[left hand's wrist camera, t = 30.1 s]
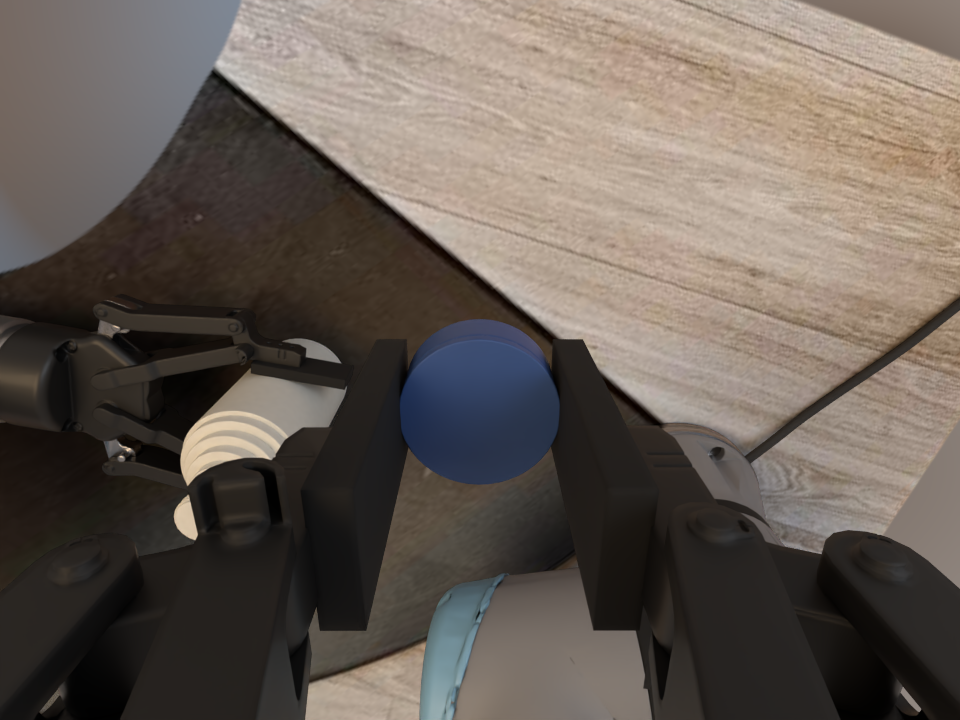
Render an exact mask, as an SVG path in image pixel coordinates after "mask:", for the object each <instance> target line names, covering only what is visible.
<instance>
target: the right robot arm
mask: <svg viewBox="0 0 960 720" xmlns="http://www.w3.org/2000/svg"><path fill="white" fill-rule="evenodd" d="M93 313H94V315H95V316H96V318H98V319H99V320H100V322H99V327H98V331H96V332H91V331H88V330H85V329H79V328H74V327H68V326H62V325H57V324H51V323H45V322H33V321H30V320H27V319H22V318H16V317H10V316H4V315H0V423H4V422H7V423H9V424H12V425H17V426H23V427H29V428H36V429H42V430H48V431H54V432H74V431H80V432H85V433H87V434H89V435H91V436H93V437H94V438H96V439H98V440H101V441H104V444H105V447H106V451H107V454H108V458H109V459H108V460H107V461H106V462H104V463H103V465H102V470H103V472H105V473H106V474H108V475H111V476H123V475H135V476H138V477H142V478H145V479H149V480H153V481H156V482H160V483H163V484H167V485H171V486H174V487H178V488H181V489H185V490H187V484H186V481H185V479H184V477H183V474H182V470H181V462H180V460H181V452H182V449H183V443H184V440H185V438H186V435H187V433H188V432H189V430H190V429H191V428H192V427H193V426H194V425H195V424H194V423H192V422H190V421H188V420H186V419H184V418H183V417H181V416H179V415H178V411H177V410H176V409H174V408H172V407H170V406H168V405H166V404H164V396H163V393H162V389H161V388H162V384H163V381H164V376H169V375H174V374H180V373H185V372H191V371H196V370H202V369H207V368H213V367H218V366H223V365H229V364H234V363H240V362H242V363H241V365H244V364H245V363H246V362H247V361H248V360H254V361H253V362H252V363H251V374H257V375H262V376H268V377H274V378H279V379H285V380H291V381H296V382H302V383H308V384H313V385H319V386H325V387H331V388H336V389H342V390H345V388H346V386H347V384H348V382H349V381H350V379H351V377H352V375H353V368H354V366H353V365H347V364H342V363H336V362H331V361H325V360H320V359H314V358H308V357H306V349H307V348H305V347H303V346H301V345H299V344H294V343H288V342H283V341H277V340H272V339H267V338H264V337H262V336H261V335H260V334H259V333H258V331H257V329H256V326H255V320H256V316H255V313H254V312H253V311H252V310H250V309H245V308H225V307H204V306H184V305H164V304H148V303H145V302H143V301H140V300H137V299H135V298H132V297H129V296H127V295H123V294H120V295H117V296H114V297H112V298H110V299H108V300H105V301H103V302H100V303H98V304H96V305H95V306H94V307H93ZM131 330H134V331H148V332H168V333H189V334H210V335H230V336H232V338H228V339H223V340H217V341H212V342H207V343H201V344H196V345H190V346H185V347H180V348H174V349H172V348H165V349H160V350H154V351H149V352H143V351H142V350H141V349H140V348H138V347H137V346H136V345H135V344H133V343H132V342H131V341H130V340H128V339H127V338H126V337H125V336H123V335H122V334H121V333H127V332H129V331H131ZM155 418H156V419H157V420H155V421H154V422H153V423H151V424H149V423H150V422H151V421H152V420H153V419H155ZM126 434H128V435H130V436H132V437H134V438H136V439H138V440H136V441H131V440H128V439H127V438H126V437H125V436H124V435H126ZM142 442H144V443H148V444H151V443H157V444H159V445H161V446H163V447H165V448H167V449H169V450H167V449H163V448H160V447H155V446H149V445H143V443H142ZM170 450H171V451H170Z"/></svg>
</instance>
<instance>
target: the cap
mask: <svg viewBox="0 0 960 720" xmlns="http://www.w3.org/2000/svg"><path fill="white" fill-rule="evenodd" d="M559 410H560V400H559V395H558V392H557V388H556V385H555V382H554V379H553V375H552V372H551V369H550V366H549V363H548V361H547V359H546V357H545V355H544V353H543V352H542V350H541V349H540V347H539V346H538V345H537V344H536V343H535V342H534V341H533V340H532V339H531V338H530V337H529V336H527V335H526V334H525V333H523V332H522V331H520V330H519V329H517V328H514V327H512V326H510V325H508V324H505V323H502V322H498V321H493V320H484V319H477V320H467V321H461V322H458V323H454V324H451V325H449V326H447V327H445V328H442V329H441V330H439V331H438V332H436V333H434V334H433V335H432V336H431V337H429V338H428V339H427V340H426V341H425V342H424V343H423V344H422V345H421V346H420V348H419V349H418V351H417V352H416V353H415V355H414V357H413V359H412V361H411V363H410V366H409V369H408V372H407V376H406V379H405V382H404V385H403V388H402V392H401V395H400V416H401V431H402V434H403V437H404V439H405V441H406V443H407V445H408V447H409V448H410V450H411V451H412V452H413V454H414V455H415V456H416V457H417V459H419V460H420V461H421V462H422V463H423V464H424V465H425V466H426V467H428V468H429V469H430V470H432V471H433V472H435V473H437V474H439V475H440V476H443V477H445V478H448V479H450V480H453V481H457V482H461V483H467V484H492V483H498V482H502V481H506V480H509V479H511V478H514V477H516V476H519V475H520V474H522V473H524V472H526V471H527V470H529V469H530V468H531V467H533V466H534V465H535V464H536V463H537V462H539V461H540V460H541V459H542V457H543V456H544V455H545V454H546V453H547V451H548V450H549V448H550V447H551V445H552V444H553V441H554V439H555V437H556V435H557V432H558V426H559Z"/></svg>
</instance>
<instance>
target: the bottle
mask: <svg viewBox="0 0 960 720" xmlns="http://www.w3.org/2000/svg"><path fill="white" fill-rule="evenodd" d="M283 342H288V343H294V344H299V345H301V346H303V347H305V348H307V349H306V357H308V358H314V359H320V360H325V361H331V362H336V363H341V362H340V360H339V359H338V358H337V357H336V355H335V354H334V353H333V352H332V351H330V350H329V349H328V348H326V347H325V346H323V345H321V344H320V343H317V342H315V341H311V340H308V339H289V340H284V341H283ZM346 389H347V386H346V388H345V390H342V389H336V388H331V387H325V386H319V385H313V384H308V383H302V382H296V381H291V380H285V379H279V378H274V377H268V376H262V375H257V374H251V368H250V369H249V370H248V371H247V372H246V373H245V374H244V375H243V376H242V377H241V378H240V379H239V380H238V381H237V382H236V383H235V384H234V385H233V386H232V387H231V388H230V389H229V390H228V391H227V392H226V393H225V394H224V395H223V396H222V397H221V398H220V399H219V400H218V401H217V402H216V403H215V404H214V405H213V406H212V407H211V408H210V409H209V410H208V411H207V412H206V413H205V414H204V415H203V416H202V417H201V418H200V419H199V420H198V421H197V422H196V424H195V425H194V426H193V427H192V428H191V429H190V430H189V432H188V433H187V435H186V438H185V440H184V443H183V449H182V452H181V460H180V462H181V470H182V474H183V477H184V479H185V481H186V484H187V486H188V485H189V484H190V483H191V481H192V480H193V479H194V478H195V477H196V476H197V475H199V474H200V473H202V472H204V471H205V470H207V469H208V468H210V467H213V466H215V465H218V464H221V463H223V462H226V461H230V460H236V459H241V458H266V459H269V460H272V459H273V457H275V456H276V455H275V454H276V453H277V451H278V450H279V448H280V446H281V445H282V443H283V442H284V440H285V439H287V438H288V437H290V436H291V435H292V434H294V433H295V432H297V431H298V430H300V429H301V428H302V427H329V425H330V423H331V421H332V419H333V417H334V416H335V414H336V412H337V410H338V408H339V406H340V404H341V402H342V400H343V398H344V396H345V393H346ZM174 519H175V524H176V525H177V528H178V529H179V530H180V531H181V532H182V533H183V534H184V535H185V536H187V537H189V538H191V539H193V540H196V538H197V536H198V533H197V529H196V525H195V520H194V516H193V512H192V507H191V503H190V498H189V495H187V496H186V497H185V498H184V499H183V500H182V501H181V503H180V504H179V505H178V506H177V508H176V510H175V514H174Z"/></svg>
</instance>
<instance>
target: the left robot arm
mask: <svg viewBox="0 0 960 720" xmlns="http://www.w3.org/2000/svg"><path fill="white" fill-rule="evenodd" d="M959 310H960V298H959V299H958V300H956V301H955V302H954V303H952V304H951V305H950V306H949V307H947V308H946V309H945V310H944V311H942V312H941V313H940V314H939V315H937V316H936V317H935V318H934V319H932V320H931V321H930V322H929V323H927V324H926V325H925V326H924V327H922V328H921V329H920V330H919V331H917V332H916V333H915V334H913V335H912V336H911V337H910V338H908V339H907V340H906V341H904V342H903V343H902V344H900V345H899V346H897V347H896V348H895V349H893V350H892V351H890V352H889V353H888V354H886V355H885V356H883V357H882V358H880V359H879V360H877V361H876V362H875V363H873V364H872V365H870V366H869V367H867V368H866V369H864V370H863V371H861V372H860V373H858V374H857V375H855V376H854V377H852V378H851V379H849V380H848V381H846V382H845V383H843V384H842V385H841V386H839V387H838V388H836V389H835V390H833V391H832V392H830V393H829V394H827V395H826V396H824V397H823V398H822V399H820V400H819V401H817V402H816V403H814V404H813V405H812V406H810V407H809V408H807V409H806V410H805V411H803V412H802V413H801V414H799V415H798V416H797V417H795V418H794V419H793V420H791V421H790V422H789V423H787V424H786V425H785V426H784V427H782V428H781V429H780V430H779V431H777V432H776V433H775V434H774V435H772V436H771V437H770V438H768V439H767V440H766V441H765V442H763V443H762V444H761V445H759V446H758V447H757V448H755V449H754V450H753V451H751V452H750V453H749V454H747V455H746V456H745V457H744V455H743V454H742V453H741V452H740V451H739V449H738V448H737V447H736V446H735V445H734V444H733V443H732V442H731V441H730V440H728V439H727V438H726V437H724V436H723V435H721V434H719V433H717V432H715V431H713V430H711V429H708V428H706V427H702V426H698V425H693V424H684V423H670V424H661V425H626V424H625V422H624V420H623V418H622V416H621V414H620V412H619V410H618V408H617V406H616V404H615V402H614V400H613V398H612V396H611V394H610V392H609V390H608V388H607V386H606V384H605V382H604V380H603V378H602V376H601V374H600V372H599V370H598V369H597V367H596V365H595V363H594V361H593V359H592V357H591V355H590V353H589V351H588V349H587V347H586V345H585V343H584V341H583V339H553V349H552V369H551V372H552V375H553V379H554V382H555V385H556V388H557V392H558V395H559V400H560V410H559V426H558V432H557V435H556V437H555V439H554V441H553V444H552V445H551V448H552V453H553V457H554V461H555V466H556V470H557V474H558V479H559V483H560V487H561V492H562V496H563V500H564V505H565V509H566V513H567V518H568V522H569V527H570V531H571V535H572V540H573V544H574V548H575V553H576V557H577V561H578V566H579V567H577V568H569V569H560V570H552V571H544V572H535V573H527V574H517V575H509V573H502V574H499V575H498V576H496V577H493V578H488V579H482V580H477V581H472V582H466V583H461V584H458V585H456V586H454V587H452V588H451V589H449V590H448V591H447V592H446V593H445V594H444V595H443V597H442V598H441V600H440V601H439V603H438V606H437V608H436V611H435V612H434V615H433V618H432V621H431V625H430V629H429V633H428V637H427V643H426V648H425V655H424V662H423V670H422V680H421V694H420V720H960V589H959V588H958V587H957V586H956V585H955V584H954V583H952V582H951V581H950V580H949V579H948V578H947V577H946V576H945V575H943V574H942V573H941V572H940V571H939V570H938V569H937V568H935V567H934V566H933V565H932V564H931V563H930V562H929V561H928V560H926V559H925V558H923V557H922V556H921V555H919V554H918V553H916V552H915V551H913V550H912V549H911V548H909V547H907V546H905V545H903V544H900V543H898V542H896V541H894V540H892V539H890V538H888V537H885V536H882V535H877V534H874V533H869V532H862V531H851V530H847V531H842V532H837V533H833V534H832V535H831V536H830V537H829V538H828V539H826V541H825V544H824V548H823V551H822V554H817V553H813V552H808V551H803V550H798V549H793V548H789V547H785V546H784V545H783V543H782V542H781V541H780V540H779V538H778V537H777V536H776V534H775V533H774V532H773V530H772V529H771V528H770V526H769V525H768V524H767V521H766V517H765V512H764V507H763V503H762V498H761V494H760V489H759V483H758V480H757V476H756V474H755V472H754V469H753V468H752V466H751V465H750V463H751V462H753V461H754V460H755V459H757V458H758V457H759V456H761V455H762V454H764V453H765V452H766V451H768V450H769V449H770V448H771V447H773V446H774V445H775V444H777V443H778V442H779V441H781V440H782V439H783V438H784V437H786V436H787V435H788V434H789V433H791V432H792V431H793V430H794V429H796V428H797V427H798V426H800V425H801V424H802V423H804V422H805V421H806V420H808V419H809V418H810V417H812V416H813V415H815V414H816V413H817V412H819V411H820V410H822V409H823V408H824V407H826V406H827V405H829V404H830V403H832V402H833V401H835V400H836V399H838V398H839V397H840V396H842V395H843V394H845V393H846V392H848V391H849V390H851V389H852V388H854V387H855V386H857V385H858V384H860V383H861V382H863V381H864V380H866V379H867V378H869V377H870V376H872V375H873V374H875V373H876V372H878V371H879V370H881V369H882V368H884V367H885V366H887V365H888V364H890V363H891V362H892V361H894V360H895V359H897V358H898V357H900V356H901V355H902V354H904V353H905V352H907V351H908V350H909V349H911V348H912V347H913V346H915V345H916V344H917V343H919V342H920V341H921V340H923V339H924V338H925V337H927V336H928V335H929V334H930V333H932V332H933V331H934V330H935V329H937V328H938V327H939V326H940V325H942V324H943V323H944V322H945V321H947V320H948V319H949V318H950V317H952V316H953V315H954V314H956V313H957V312H958V311H959ZM407 372H408V357H407V339H377V340H376V342H375V344H374V346H373V348H372V350H371V352H370V354H369V356H368V358H367V360H366V362H365V364H364V366H363V368H362V370H361V372H360V374H359V376H358V378H357V380H356V382H355V384H354V385H353V387H352V389H351V391H350V393H349V395H348V397H347V399H346V401H345V403H344V405H343V407H342V409H341V411H340V413H339V415H338V417H337V419H336V421H335V423H334V425H333V427H302V428H301V429H300V430H298V431H297V432H295V433H294V434H292V435H291V436H290V437H288V438H287V439H285V440H284V442H283V443H282V445H281V446H280V448H279V450H278V451H277V453H276V454H275V455H276V456H275V457H273V459H272V460H269V459H266V458H241V459H236V460H230V461H226V462H223V463H221V464H218V465H215V466H213V467H210V468H208V469H207V470H205V471H204V472H202V473H200V474H199V475H197V476H196V477H195V478H194V479H193V480H192V481H191V483H190V484H189V485H188V486H187V490H188V494H189V498H190V503H191V507H192V512H193V516H194V520H195V525H196V529H197V533H198V536H197V538H196V540H195V543H194V544H192V545H189V546H185V547H181V548H178V549H173V550H168V551H164V552H159V553H154V554H149V555H145V556H140V557H138V553H137V549H136V546H135V543H134V542H133V541H132V540H131V539H130V538H129V537H127V536H126V535H121V534H116V533H104V534H93V535H89V536H84V537H82V538H81V537H80V538H77V539H74V540H71V541H69V542H67V543H65V544H63V545H61V546H59V547H57V548H55V549H53V550H51V551H49V552H48V553H46V554H45V555H44V556H42V557H41V558H39V559H38V560H36V561H35V562H34V563H32V564H31V565H30V566H29V567H28V568H27V569H26V570H25V571H23V572H22V573H21V574H20V575H19V576H18V577H17V578H16V579H14V580H13V581H12V582H11V583H10V584H9V585H8V586H7V587H6V588H4V589H3V590H2V591H1V592H0V720H305V714H306V704H307V694H308V685H309V675H310V665H311V656H312V653H311V646H310V639H309V632H308V629H309V627H310V624H311V621H312V618H313V615H314V612H315V609H316V606H317V613H318V620H319V627H320V631H366V629H367V625H368V621H369V616H370V612H371V608H372V603H373V599H374V595H375V590H376V586H377V582H378V577H379V573H380V568H381V564H382V560H383V555H384V551H385V547H386V542H387V538H388V534H389V529H390V525H391V521H392V516H393V512H394V508H395V503H396V499H397V495H398V490H399V486H400V481H401V477H402V473H403V468H404V464H405V460H406V455H407V451H408V445H407V443H406V441H405V439H404V437H403V434H402V431H401V416H400V395H401V392H402V388H403V385H404V382H405V379H406V376H407ZM902 687H904V688H905V689H906V691H907V692H908V693H909V694H910V696H911V697H912V698H913V699H914V700H915V702H916V703H917V704H918V705H919V706H920V708H921V711H920V712H917V711H916V710H915V709H914V708H913V707H912V706H911V705H910V704H909V703H908V701H907V700H906V699H905V698H904V697H903V695H902V694H901V693H900V692H901V690H902ZM57 689H58V691H59V694H60V696H59V697H58V698H57V699H56V701H55V702H54V703H53V704H52V705H51V706H50V707H49V708H48V709H47V710H46V711H45V712H44V713H43V714H42V715H41V714H40V713H39V711H40V710H41V709H42V708H43V706H44V705H45V704H46V703H47V702H48V700H49V699H50V698H51V697H52V695H53V694H54V693H55V692H56V691H57Z"/></svg>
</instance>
